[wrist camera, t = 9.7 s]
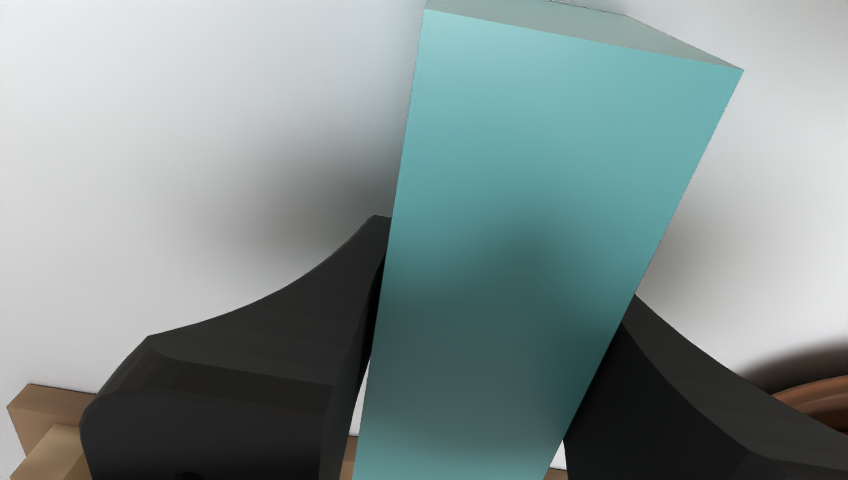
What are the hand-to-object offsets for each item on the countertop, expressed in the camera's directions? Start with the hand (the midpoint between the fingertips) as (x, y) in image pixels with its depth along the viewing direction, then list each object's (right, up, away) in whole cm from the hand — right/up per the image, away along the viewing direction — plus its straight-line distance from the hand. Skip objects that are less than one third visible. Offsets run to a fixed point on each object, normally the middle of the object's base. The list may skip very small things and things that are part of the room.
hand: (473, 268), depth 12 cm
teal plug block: (0, +2, +1) cm, 2 cm away
